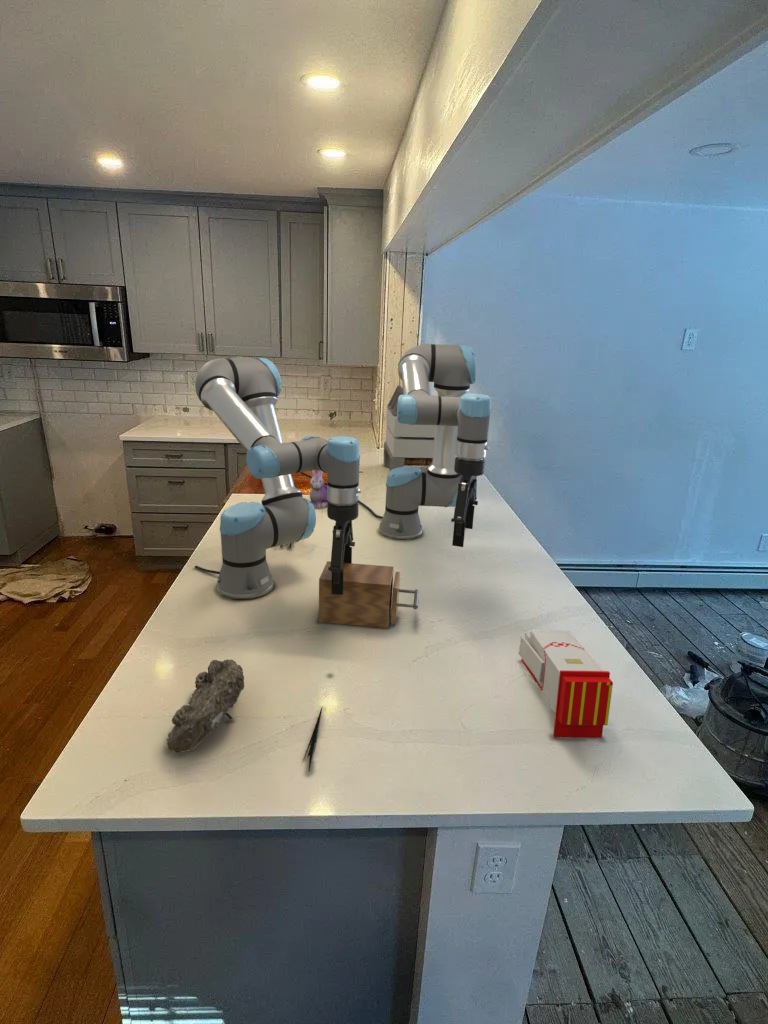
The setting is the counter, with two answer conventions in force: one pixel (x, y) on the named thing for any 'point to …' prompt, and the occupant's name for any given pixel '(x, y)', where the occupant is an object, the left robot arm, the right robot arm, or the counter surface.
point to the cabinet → (357, 596)
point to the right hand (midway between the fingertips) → (462, 536)
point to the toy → (568, 682)
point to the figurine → (318, 490)
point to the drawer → (396, 598)
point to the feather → (313, 740)
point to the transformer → (406, 439)
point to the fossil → (206, 705)
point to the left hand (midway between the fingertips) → (342, 581)
